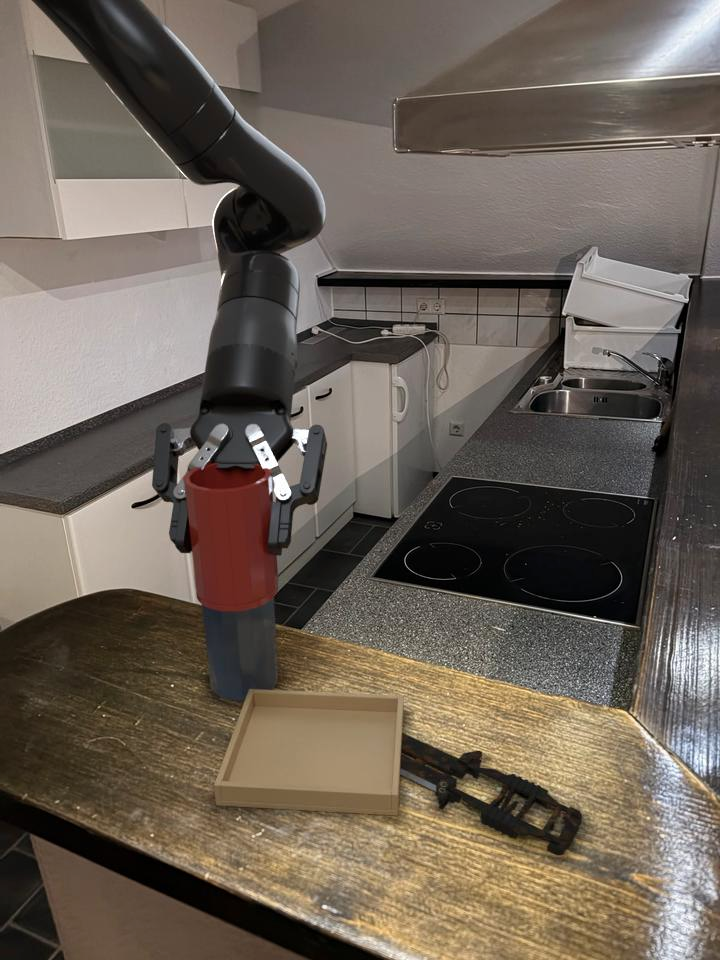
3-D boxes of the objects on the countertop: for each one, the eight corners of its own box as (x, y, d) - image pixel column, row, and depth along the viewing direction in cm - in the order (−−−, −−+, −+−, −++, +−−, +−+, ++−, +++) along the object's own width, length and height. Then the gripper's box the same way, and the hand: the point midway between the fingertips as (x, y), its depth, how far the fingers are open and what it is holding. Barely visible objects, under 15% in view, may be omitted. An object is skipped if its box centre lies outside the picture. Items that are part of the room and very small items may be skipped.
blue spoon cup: (202, 699, 71) (192, 605, 67) (220, 659, 77) (211, 571, 73) (270, 702, 70) (264, 607, 67) (283, 661, 76) (278, 573, 73)
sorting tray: (215, 805, 59) (213, 785, 58) (250, 707, 70) (248, 688, 69) (397, 816, 57) (398, 795, 57) (403, 713, 69) (403, 695, 68)
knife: (292, 724, 68) (291, 712, 68) (341, 690, 73) (340, 678, 72) (548, 878, 53) (550, 863, 52) (590, 822, 57) (591, 808, 57)
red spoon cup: (186, 610, 59) (172, 490, 55) (208, 570, 65) (197, 459, 61) (269, 613, 58) (261, 491, 54) (284, 572, 64) (277, 460, 60)
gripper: (155, 340, 62) (119, 533, 55) (330, 340, 61) (315, 537, 54) (181, 388, 69) (152, 564, 62) (339, 388, 68) (327, 568, 61)
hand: (228, 550), depth 58 cm, fingers closed on red spoon cup, 6 cm apart
